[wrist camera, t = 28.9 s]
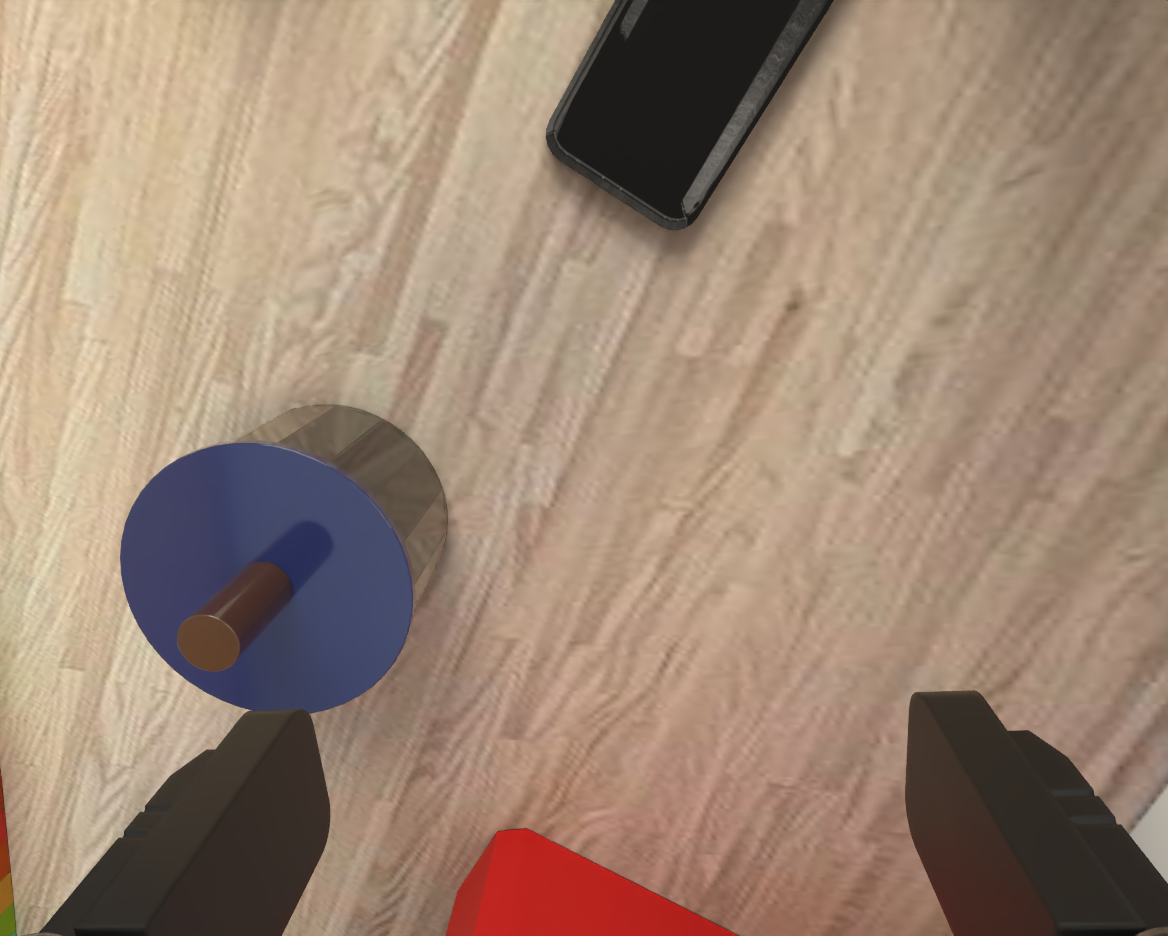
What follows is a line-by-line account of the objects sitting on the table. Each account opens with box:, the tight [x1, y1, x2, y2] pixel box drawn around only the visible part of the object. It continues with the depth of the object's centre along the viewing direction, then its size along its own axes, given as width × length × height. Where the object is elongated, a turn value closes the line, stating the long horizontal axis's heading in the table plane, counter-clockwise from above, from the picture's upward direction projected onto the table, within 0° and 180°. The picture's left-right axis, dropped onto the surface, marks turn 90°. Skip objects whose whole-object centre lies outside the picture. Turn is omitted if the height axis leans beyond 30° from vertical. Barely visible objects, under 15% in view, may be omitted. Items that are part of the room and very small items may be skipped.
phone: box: [546, 0, 834, 230], centre depth 34 cm, size 8×1×15 cm
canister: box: [233, 405, 448, 605], centre depth 39 cm, size 12×12×8 cm
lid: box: [120, 440, 416, 713], centre depth 32 cm, size 13×13×6 cm
